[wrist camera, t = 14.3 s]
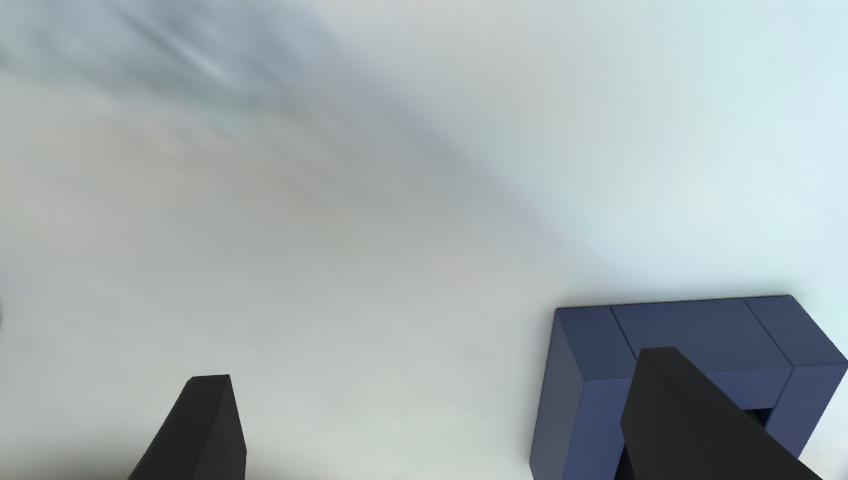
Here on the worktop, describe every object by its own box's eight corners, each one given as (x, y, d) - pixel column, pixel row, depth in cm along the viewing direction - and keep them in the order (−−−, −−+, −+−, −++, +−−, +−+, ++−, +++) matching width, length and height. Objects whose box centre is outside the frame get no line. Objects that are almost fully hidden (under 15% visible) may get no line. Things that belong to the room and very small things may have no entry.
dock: (528, 463, 29) (548, 539, 26) (555, 308, 24) (584, 381, 21) (724, 447, 30) (765, 519, 27) (792, 294, 24) (852, 363, 22)
